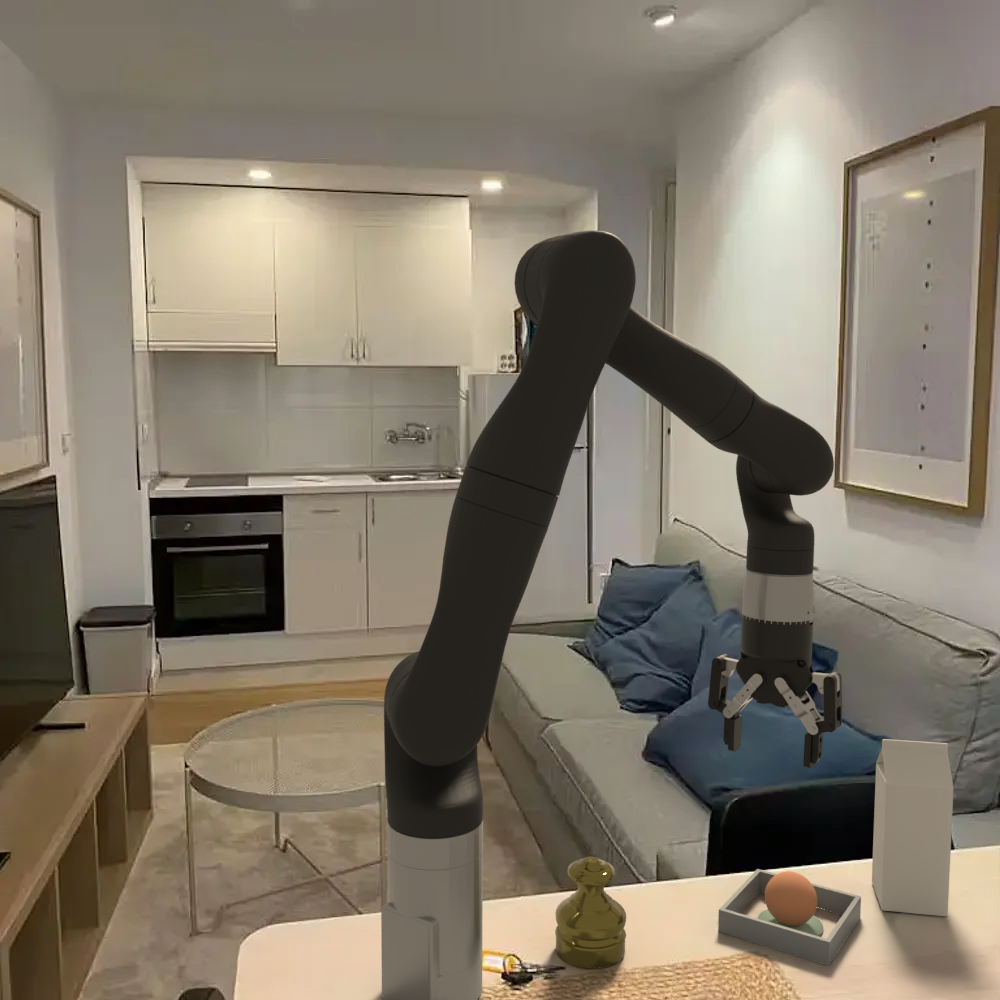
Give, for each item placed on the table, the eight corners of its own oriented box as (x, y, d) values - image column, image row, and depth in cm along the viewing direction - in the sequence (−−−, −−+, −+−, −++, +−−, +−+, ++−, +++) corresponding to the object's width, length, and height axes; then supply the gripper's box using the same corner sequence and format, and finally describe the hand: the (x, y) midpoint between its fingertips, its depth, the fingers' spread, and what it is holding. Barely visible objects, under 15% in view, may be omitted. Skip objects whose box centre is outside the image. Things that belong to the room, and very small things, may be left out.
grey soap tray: (828, 965, 104) (829, 942, 103) (718, 931, 110) (718, 909, 110) (860, 917, 114) (861, 896, 113) (756, 889, 120) (757, 868, 120)
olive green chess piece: (639, 951, 106) (641, 859, 106) (595, 979, 101) (597, 883, 100) (585, 926, 112) (586, 838, 111) (540, 951, 106) (541, 860, 105)
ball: (827, 928, 111) (829, 879, 110) (787, 940, 108) (789, 889, 108) (792, 906, 116) (793, 859, 115) (753, 916, 113) (754, 868, 113)
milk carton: (947, 918, 114) (955, 753, 112) (881, 911, 115) (887, 749, 113) (934, 889, 121) (940, 734, 119) (871, 883, 122) (877, 729, 120)
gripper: (702, 609, 111) (697, 753, 112) (833, 626, 103) (825, 781, 104) (728, 599, 117) (723, 736, 118) (854, 615, 109) (846, 762, 110)
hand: (771, 757), depth 111 cm, fingers open, 8 cm apart
